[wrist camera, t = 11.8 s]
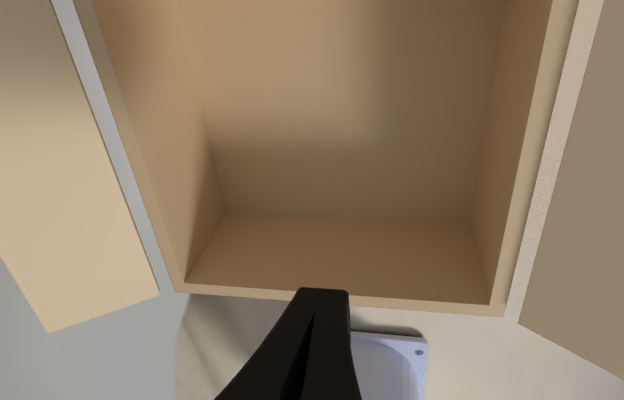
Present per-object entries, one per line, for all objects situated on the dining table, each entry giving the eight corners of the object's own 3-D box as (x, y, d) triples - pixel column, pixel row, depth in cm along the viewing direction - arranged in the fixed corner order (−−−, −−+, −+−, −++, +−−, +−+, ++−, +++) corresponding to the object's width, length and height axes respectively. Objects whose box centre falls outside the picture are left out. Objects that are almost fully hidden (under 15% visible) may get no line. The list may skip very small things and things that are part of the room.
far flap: (48, 333, 17) (49, 325, 18) (160, 294, 19) (159, 287, 19) (-158, 2, 10) (-149, 0, 11) (41, -20, 12) (43, -20, 12)
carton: (479, 226, 21) (503, 317, 16) (221, 216, 24) (174, 291, 19) (530, -79, 14) (598, -82, 9) (159, -45, 17) (60, -34, 12)
